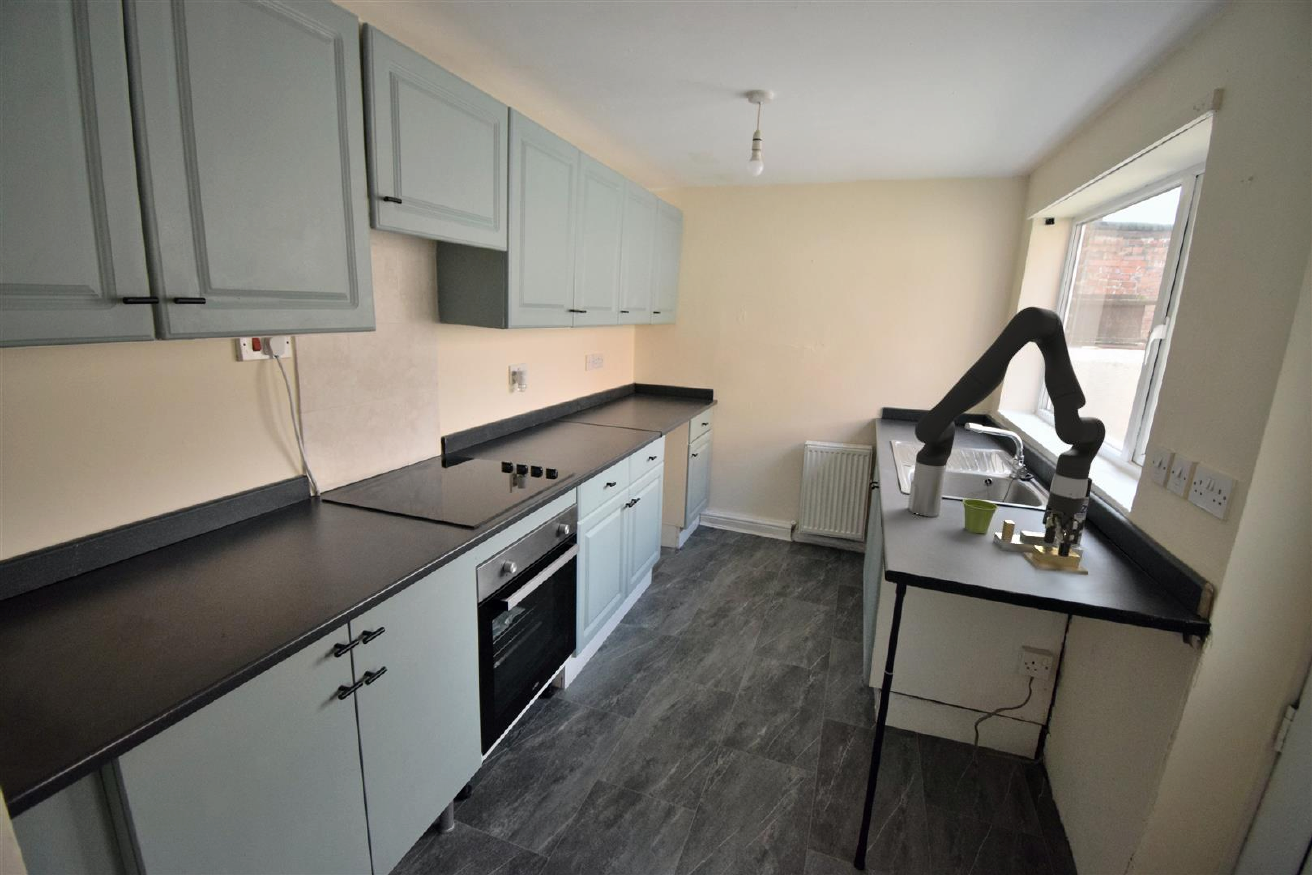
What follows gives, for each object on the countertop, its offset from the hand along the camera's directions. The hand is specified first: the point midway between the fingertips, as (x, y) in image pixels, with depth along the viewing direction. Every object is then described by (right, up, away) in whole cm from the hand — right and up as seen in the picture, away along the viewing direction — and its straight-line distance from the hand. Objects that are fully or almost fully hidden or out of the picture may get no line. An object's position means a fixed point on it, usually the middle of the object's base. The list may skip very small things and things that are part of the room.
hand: (1055, 549), depth 150 cm
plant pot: (-8, +1, +24) cm, 25 cm away
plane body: (+2, -2, +10) cm, 11 cm away
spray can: (+15, -1, +17) cm, 22 cm away
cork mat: (0, -4, +1) cm, 4 cm away
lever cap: (0, -3, +1) cm, 4 cm away
